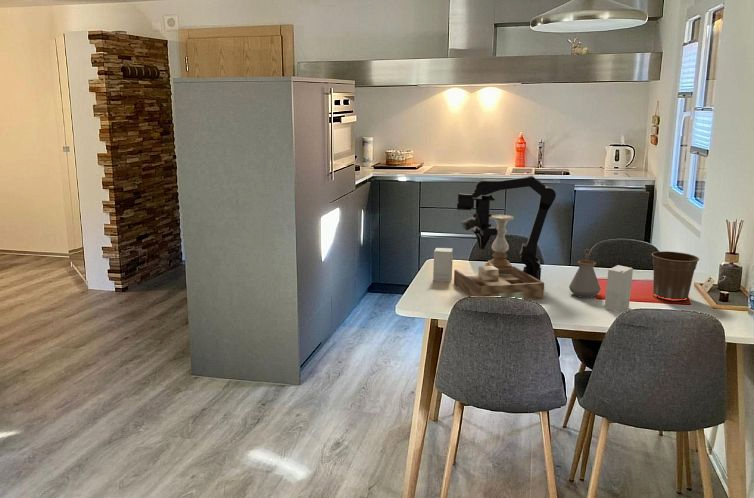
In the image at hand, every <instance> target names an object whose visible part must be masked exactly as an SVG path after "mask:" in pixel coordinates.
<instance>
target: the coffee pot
mask: <svg viewBox="0 0 754 498" xmlns="http://www.w3.org/2000/svg"><path fill="white" fill-rule="evenodd" d="M591 252H592V251H591V250H590V249H589V248H586V249H585V251H584V253H585V255H584V256H585V258H584V260H578V261H577V263H578V266H579V267H578V269H577V271H576V272H575V274H574V276H573V278H572V280H571V282H570V283H569V286H568V287H569V290H570V292H571V293H572V294H573V296H575V297H578V298H584V299H588V298H589V299H591V298H595V296H597V295H598V294H599V293H600V292H601V290H602V289H601V286H600V284H599V280H598V277H597V275H596V272H595V269H594V268H595V266H596V265H597V262H595V261H593V260H592V261H591V260H589V257H590V255H589V253H591Z"/></svg>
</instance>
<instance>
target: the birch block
mask: <svg viewBox="0 0 754 498" xmlns="http://www.w3.org/2000/svg"><path fill="white" fill-rule="evenodd" d="M498 274H499V269H497V268H496V267H494V266H485V265H484V266H483V265H482V266H478V275H477V276H479V277H480V278H482V279H483V280H493V279H498Z"/></svg>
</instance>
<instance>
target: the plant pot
mask: <svg viewBox="0 0 754 498" xmlns="http://www.w3.org/2000/svg"><path fill="white" fill-rule="evenodd" d="M651 256H652V265H653V280H652V281H653V285H652V286H653V287H652V294H653V293H654V294H656V295H658V296H660V297H664V298H671V299H685V298H689V294H690V290H691V285H692V281H693V278H694V277H693V276H694V273H695V270H696V269H697V265H698V262H699V261H700V258H699V257H698V256H696V255H694V254H690V253H685V252H678V251H669V250H668V251H667V250H666V251H664V250H663V251H653V252H652V253H651Z"/></svg>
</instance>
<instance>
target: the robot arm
mask: <svg viewBox="0 0 754 498" xmlns="http://www.w3.org/2000/svg"><path fill="white" fill-rule="evenodd" d="M525 187H530V189H532V190H533V191H534V192H536V193H537V194H538V195H539V197H538V198H539V199H538V208H537V211H536V214H535V217H534V220H533V223H532V225H531V226H532V227H531V230H530V232H529V233H530V234H529V236H528V240H527V242H526V243H524V242H522V244H521V249H520V251H519V256H520V260H521V261H520V262H521V263H522V264H524V265H525V266H523V270H522V271H524V272H526V273H527V274H529V275H531V276H533V277H535V278H536V279H538V280H540V281H541V276H542V275H541V274H542V267H541V262H540V259H538V257H537V248H538V242H539V240H540V236H541V233H542V230H543V227H544V225H545V224H544V223H545V222H546V221H545V220H546V217H547V214H548V211H550V208H551V207H552V205H553V203H554V202H555V200H556V197H557V194H556V191H555V189H554V188H553V187H551V186H548V185H545V184H543V183H542V182H541V181H539V179H537V178H536V177H535V176H533V175H528V176H523V177H521V176H520V177H515V178H514V177H513V178H507V179H499V180H498V179H488V178H487V179H485V178H484V179H480V180H479V181H478V182H477V185H476V188H475V190H474V191H472V193H460V192H459V193H458V196H457V203H456V210H457V211H470V212H471V211H472V209H474V208H475V212H473V213H472V216H471V217H467V218H466V219H462V220H461V221H460V224H461V226H462V228H463V229H462V230H465V231H469V230H471V229H472V230H471V232H472V233H473V234H474V236H475V239H476V242H477V246H478V248H479V249H480V250H485V247H486V246H487V244H488V242H489V240H490V239H491V237H492V236H497V235H498V230H497V229H496V228H497V227H494V226H492V224H491V223H490V220H491V219H490V217H491V215H493V214H492V213H490V212H491V201H493V202H494V201H495V200H496V197H495V196H493V195H492V194H493V193H496V192H498V191H499V192H500V191H503V190H510V189H511V190H513V189H519V188H525ZM480 196H481V197H480Z"/></svg>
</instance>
